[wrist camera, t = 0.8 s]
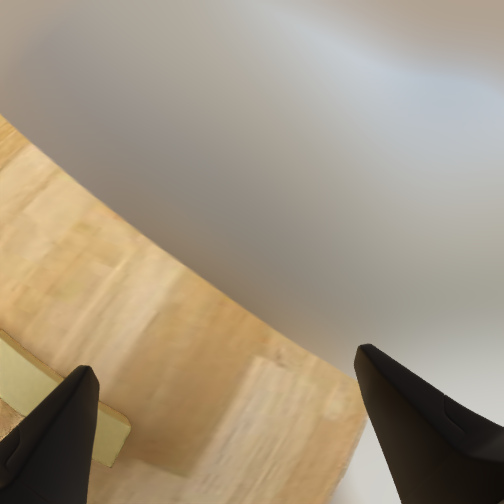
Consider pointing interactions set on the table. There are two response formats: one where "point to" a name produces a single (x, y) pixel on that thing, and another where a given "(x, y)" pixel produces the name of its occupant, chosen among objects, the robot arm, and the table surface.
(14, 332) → the table surface
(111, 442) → the butter
